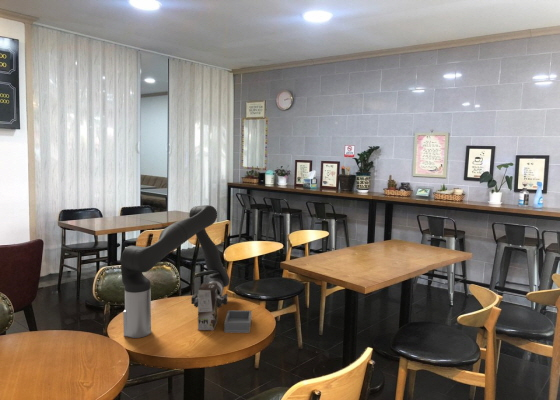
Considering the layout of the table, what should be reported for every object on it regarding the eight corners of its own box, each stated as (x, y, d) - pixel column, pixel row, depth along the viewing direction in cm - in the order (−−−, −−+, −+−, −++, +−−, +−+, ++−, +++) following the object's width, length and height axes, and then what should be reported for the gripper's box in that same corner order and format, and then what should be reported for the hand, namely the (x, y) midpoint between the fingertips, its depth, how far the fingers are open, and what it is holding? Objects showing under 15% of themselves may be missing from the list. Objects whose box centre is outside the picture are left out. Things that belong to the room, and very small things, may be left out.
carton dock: (224, 332, 168) (224, 322, 167) (227, 319, 180) (227, 310, 180) (249, 332, 168) (249, 322, 168) (251, 320, 181) (251, 310, 180)
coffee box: (214, 330, 170) (214, 290, 168) (197, 330, 170) (197, 289, 168) (218, 321, 179) (218, 282, 177) (202, 321, 179) (202, 282, 177)
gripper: (196, 283, 187) (188, 295, 171) (229, 283, 187) (225, 296, 171) (196, 300, 188) (189, 314, 172) (229, 300, 188) (225, 314, 172)
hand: (207, 305), depth 171 cm, fingers open, 8 cm apart
